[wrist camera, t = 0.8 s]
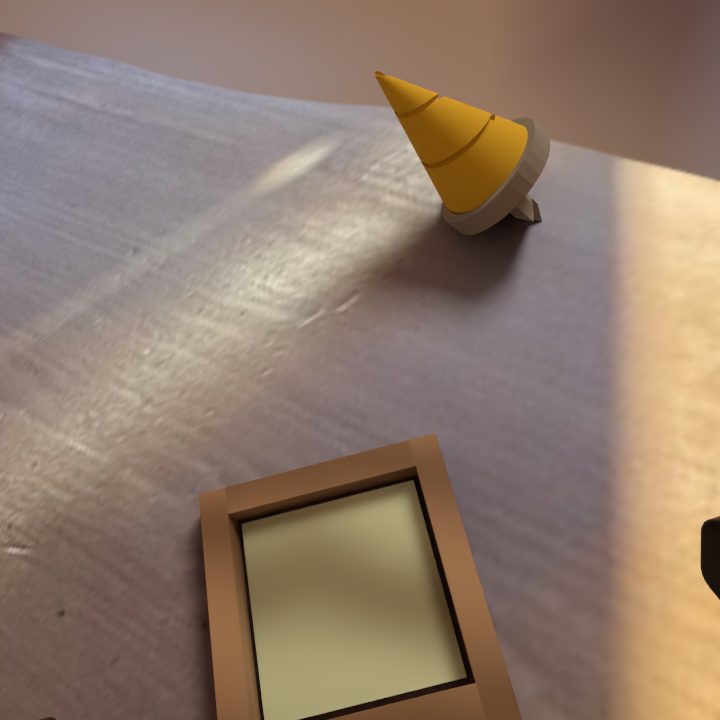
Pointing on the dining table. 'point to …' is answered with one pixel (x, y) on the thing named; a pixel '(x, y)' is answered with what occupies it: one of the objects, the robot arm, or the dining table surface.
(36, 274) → the dining table surface
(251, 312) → the dining table surface
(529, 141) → the yellow and grey cone
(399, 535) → the wooden double frame
